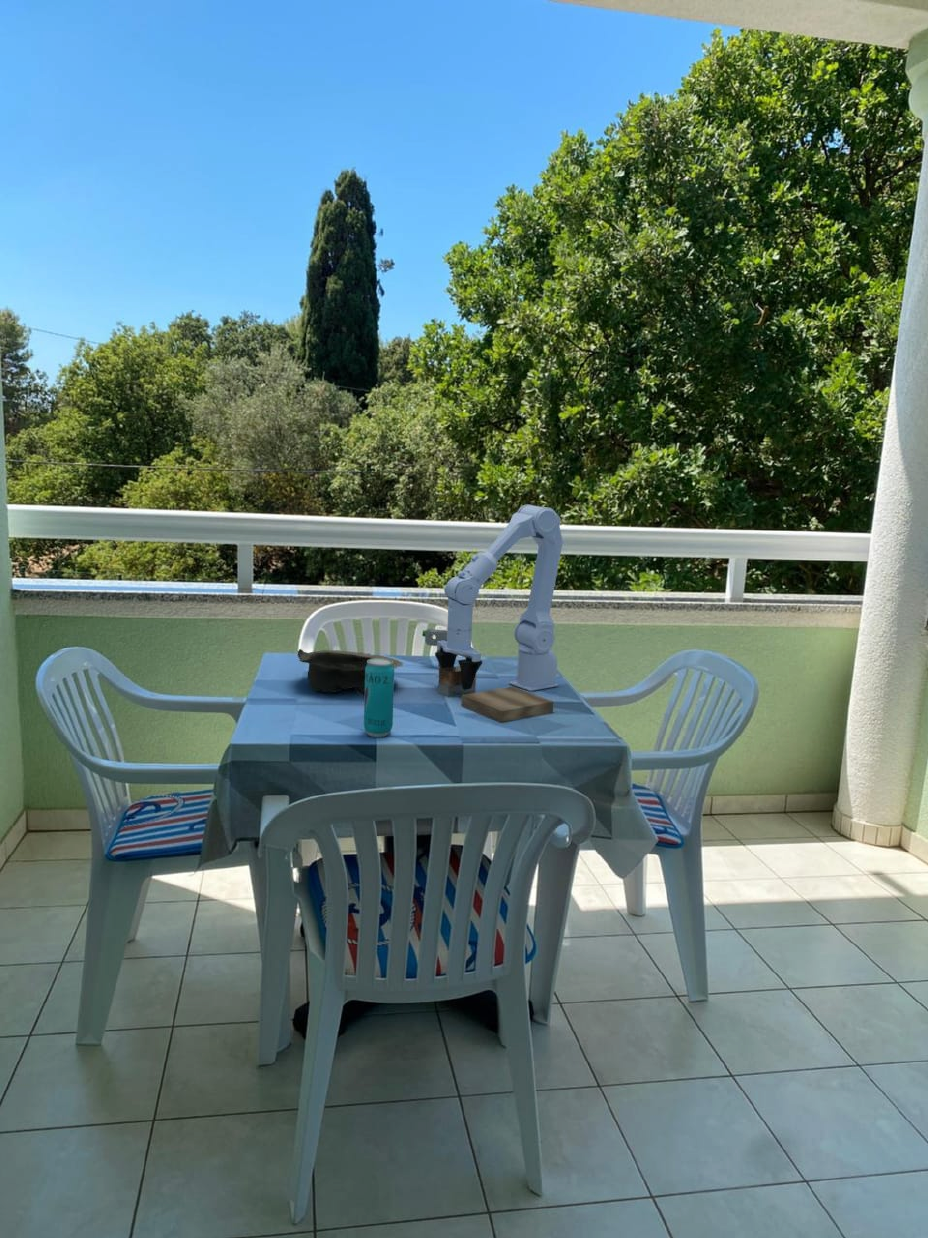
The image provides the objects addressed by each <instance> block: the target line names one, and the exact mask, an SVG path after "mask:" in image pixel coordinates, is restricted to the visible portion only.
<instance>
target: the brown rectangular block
mask: <svg viewBox="0 0 928 1238" xmlns="http://www.w3.org/2000/svg"><path fill="white" fill-rule="evenodd" d="M476 682H477V674H476V675H475V678H474V681H473V684H472V687H471V689H466V690H464V689H463V688H462V673H461V668H460V665H456V666H455V665H454V667H448V668H441V669H438V687H437V694H439V695H442V696H444V697H447V698H451V697H459V696H462V695H465V694H471V693H476V686H477V685H476V684H477V683H476Z"/></svg>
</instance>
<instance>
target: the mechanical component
mask: <svg viewBox="0 0 928 1238" xmlns="http://www.w3.org/2000/svg"><path fill="white" fill-rule="evenodd" d="M432 636H435V638H433V637H432ZM422 637H424V639H425V640H424V642H425V644H426V645H427V646H431V647H437V641H443V640H444V641H447V630H444V629H433V628H427V629H426V630H422ZM436 649H437V648H436ZM439 651H440V650H439V649H437V650H436V652H439ZM437 663H438V667H437V668H438V670H439V669H441V668H440V665H439V662H438V661H437Z"/></svg>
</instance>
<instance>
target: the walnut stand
mask: <svg viewBox="0 0 928 1238" xmlns="http://www.w3.org/2000/svg"><path fill="white" fill-rule="evenodd" d="M461 706H462V707H463V708H466V709H468V710H471V711H472V712H476V713H478V714H480V715H482V716H485V717H487V718H489V719H492V720H494V721H496V722H498V723H505V722H510V721H516V720H521V719H525V718H531V717H536V716H541V715H545V714H551V713H554V700H550V699H548V698H546V697H542V696H540V695H537V694H534V693H532V692H530V691H528V690H525V689H522V688H519V687H517V686H514V685H513V686H507V687H501V688H494V689H489V690H485V691H478V692H475V693H471V694H465V695H461ZM550 712H551V713H550Z"/></svg>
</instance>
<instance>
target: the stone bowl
mask: <svg viewBox="0 0 928 1238" xmlns="http://www.w3.org/2000/svg"><path fill="white" fill-rule="evenodd" d="M297 657H298V662H301V663H306V664H308V670H307V680H308V682H309V686H310V688H311V689H312V690H314V691H316V692H320V693H321V692H325V693H338V692H341V691H342V690H343V689H345V690H347V689H351V688H354V690H355V693H358V694H360V695H365V668H366V666H367V660H369V659H374V658H384V659H389V660H392V661H393V667H394V670H395V669H397V668H400V667H403V665H404V663H403V662H402V661H400V660H398V659H395V658H390V657H388V656H385V655H379V654H370V653H366V652H358V651H357V652H356V651H346V650H339V649H338V650H336V649H335V650H333V649H323V650H315V651H310V652H307V651H304V650H303V649H301V648H299V649H298V650H297Z"/></svg>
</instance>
